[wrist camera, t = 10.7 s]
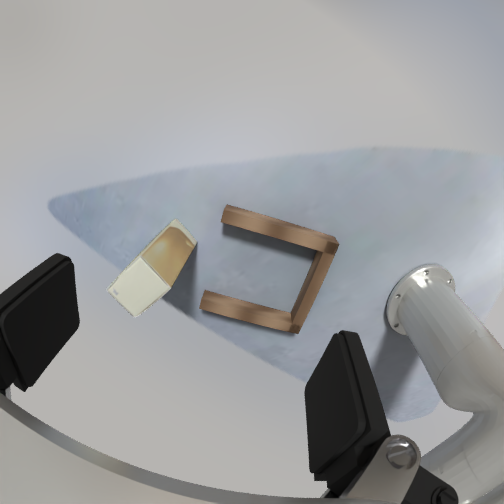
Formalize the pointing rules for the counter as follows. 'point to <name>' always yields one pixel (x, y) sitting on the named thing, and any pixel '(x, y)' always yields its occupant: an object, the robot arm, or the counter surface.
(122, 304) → the skincare box
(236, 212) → the open wooden u frame
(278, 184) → the counter surface
